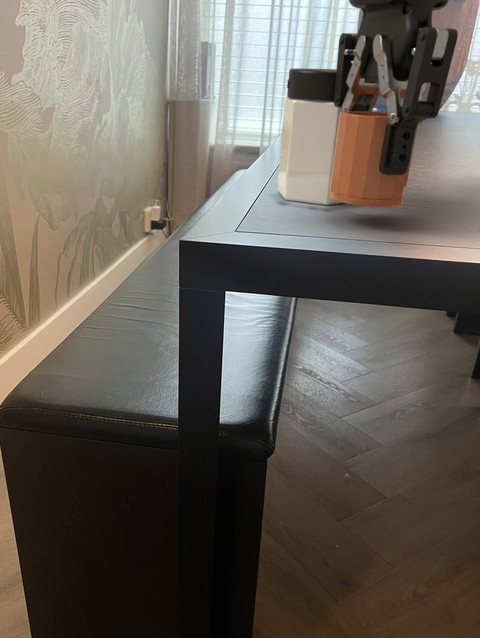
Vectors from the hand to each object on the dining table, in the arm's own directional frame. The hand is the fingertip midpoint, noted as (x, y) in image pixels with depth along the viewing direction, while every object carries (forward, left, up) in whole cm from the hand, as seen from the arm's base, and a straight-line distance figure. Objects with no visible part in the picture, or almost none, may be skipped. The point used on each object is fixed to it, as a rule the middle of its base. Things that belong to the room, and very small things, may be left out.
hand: (370, 166), depth 53 cm
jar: (0, -11, -5) cm, 12 cm away
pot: (0, 0, -3) cm, 3 cm away
